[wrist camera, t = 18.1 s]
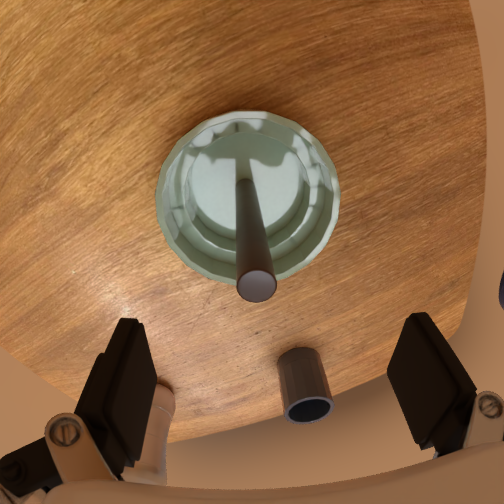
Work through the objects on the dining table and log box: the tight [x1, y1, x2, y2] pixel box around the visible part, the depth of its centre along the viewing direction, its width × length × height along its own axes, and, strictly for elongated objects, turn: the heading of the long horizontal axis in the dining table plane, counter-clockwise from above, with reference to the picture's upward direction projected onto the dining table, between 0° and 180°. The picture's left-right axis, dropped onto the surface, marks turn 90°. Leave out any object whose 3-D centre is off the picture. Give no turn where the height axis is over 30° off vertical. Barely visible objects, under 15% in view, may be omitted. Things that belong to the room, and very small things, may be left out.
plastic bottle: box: [121, 384, 176, 486], centre depth 32 cm, size 6×7×20 cm
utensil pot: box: [277, 348, 334, 424], centre depth 36 cm, size 6×6×8 cm
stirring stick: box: [235, 178, 277, 303], centre depth 21 cm, size 2×2×16 cm
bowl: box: [155, 109, 341, 286], centre depth 26 cm, size 14×14×6 cm
